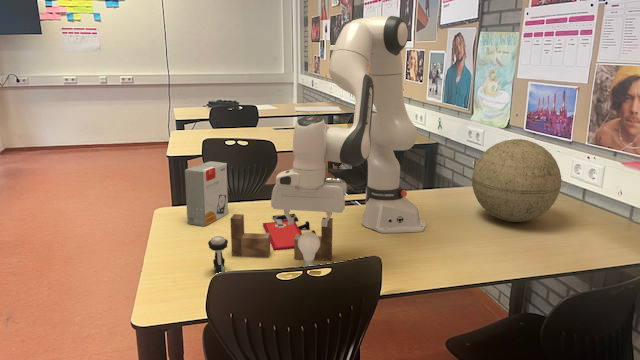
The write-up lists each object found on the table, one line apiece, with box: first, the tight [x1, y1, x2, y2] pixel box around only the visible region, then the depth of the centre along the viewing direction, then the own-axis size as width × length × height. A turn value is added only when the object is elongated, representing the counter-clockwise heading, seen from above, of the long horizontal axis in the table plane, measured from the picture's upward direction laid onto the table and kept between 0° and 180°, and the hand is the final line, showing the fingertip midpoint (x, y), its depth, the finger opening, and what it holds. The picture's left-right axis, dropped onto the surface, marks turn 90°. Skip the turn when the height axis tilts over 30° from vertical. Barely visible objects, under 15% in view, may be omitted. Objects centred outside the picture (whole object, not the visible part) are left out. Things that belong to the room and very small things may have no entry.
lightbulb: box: [298, 231, 320, 266], centre depth 136 cm, size 6×6×11 cm
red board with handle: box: [262, 213, 317, 252], centre depth 165 cm, size 30×3×15 cm
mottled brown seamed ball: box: [471, 138, 562, 223], centre depth 175 cm, size 30×30×30 cm
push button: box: [207, 235, 229, 274], centre depth 135 cm, size 7×5×10 cm
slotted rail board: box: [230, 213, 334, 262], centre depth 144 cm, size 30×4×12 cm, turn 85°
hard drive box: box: [184, 160, 229, 227], centre depth 174 cm, size 16×8×20 cm, turn 158°
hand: (307, 225), depth 134 cm, fingers open, 8 cm apart
